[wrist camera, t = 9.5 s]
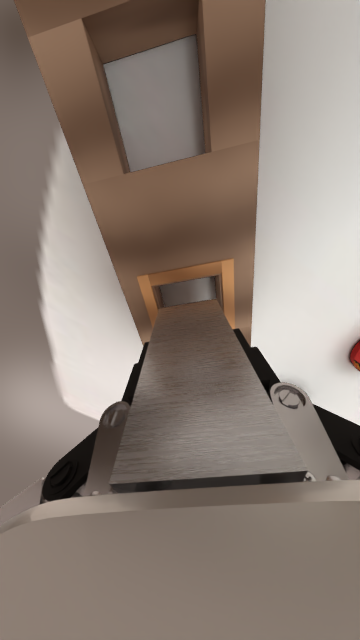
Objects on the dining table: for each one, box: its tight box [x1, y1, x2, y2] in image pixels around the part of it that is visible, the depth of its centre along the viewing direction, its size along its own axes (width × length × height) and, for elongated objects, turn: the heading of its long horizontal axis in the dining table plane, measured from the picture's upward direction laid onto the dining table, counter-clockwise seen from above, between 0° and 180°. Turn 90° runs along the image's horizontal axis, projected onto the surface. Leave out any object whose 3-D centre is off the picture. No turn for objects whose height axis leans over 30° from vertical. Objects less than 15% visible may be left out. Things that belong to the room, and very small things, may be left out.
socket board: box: [14, 0, 265, 347], centre depth 13 cm, size 26×12×3 cm, turn 10°
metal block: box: [109, 299, 308, 494], centre depth 9 cm, size 4×4×10 cm
